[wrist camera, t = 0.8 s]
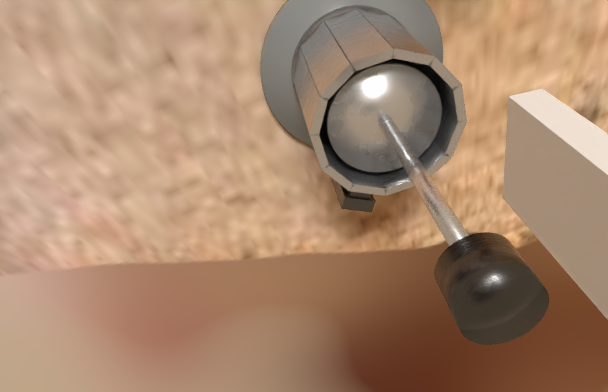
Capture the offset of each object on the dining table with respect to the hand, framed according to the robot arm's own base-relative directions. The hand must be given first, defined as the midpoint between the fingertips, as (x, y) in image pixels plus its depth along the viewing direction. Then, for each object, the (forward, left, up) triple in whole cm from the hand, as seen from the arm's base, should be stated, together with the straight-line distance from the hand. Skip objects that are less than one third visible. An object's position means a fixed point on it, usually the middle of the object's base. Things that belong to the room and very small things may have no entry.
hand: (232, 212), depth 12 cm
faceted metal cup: (+11, -6, -33) cm, 35 cm away
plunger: (+11, -6, -22) cm, 26 cm away
